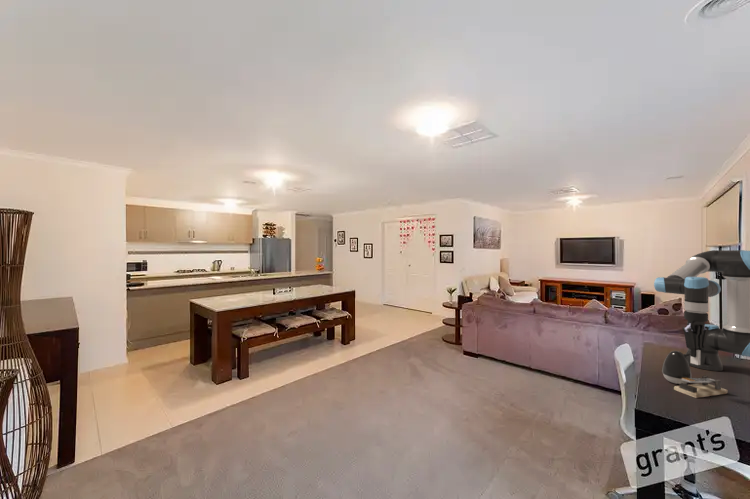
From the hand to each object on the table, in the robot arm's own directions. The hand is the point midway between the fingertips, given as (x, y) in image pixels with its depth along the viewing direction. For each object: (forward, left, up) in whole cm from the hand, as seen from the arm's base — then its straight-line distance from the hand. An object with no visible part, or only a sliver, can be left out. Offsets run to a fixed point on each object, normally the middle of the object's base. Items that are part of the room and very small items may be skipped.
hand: (695, 363), depth 140 cm
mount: (-4, 0, -13) cm, 13 cm away
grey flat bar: (-3, 0, -8) cm, 9 cm away
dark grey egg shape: (-4, -10, -13) cm, 17 cm away
